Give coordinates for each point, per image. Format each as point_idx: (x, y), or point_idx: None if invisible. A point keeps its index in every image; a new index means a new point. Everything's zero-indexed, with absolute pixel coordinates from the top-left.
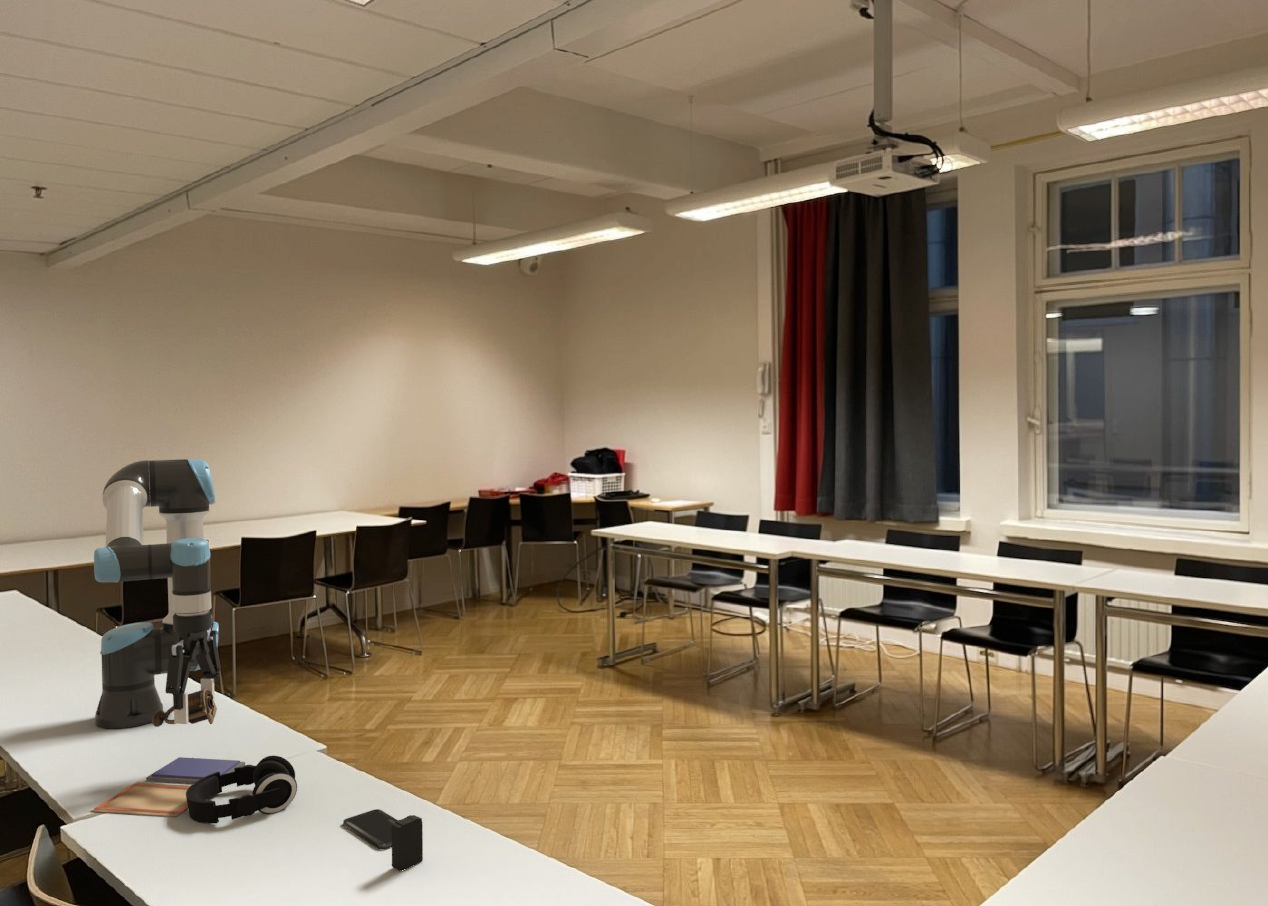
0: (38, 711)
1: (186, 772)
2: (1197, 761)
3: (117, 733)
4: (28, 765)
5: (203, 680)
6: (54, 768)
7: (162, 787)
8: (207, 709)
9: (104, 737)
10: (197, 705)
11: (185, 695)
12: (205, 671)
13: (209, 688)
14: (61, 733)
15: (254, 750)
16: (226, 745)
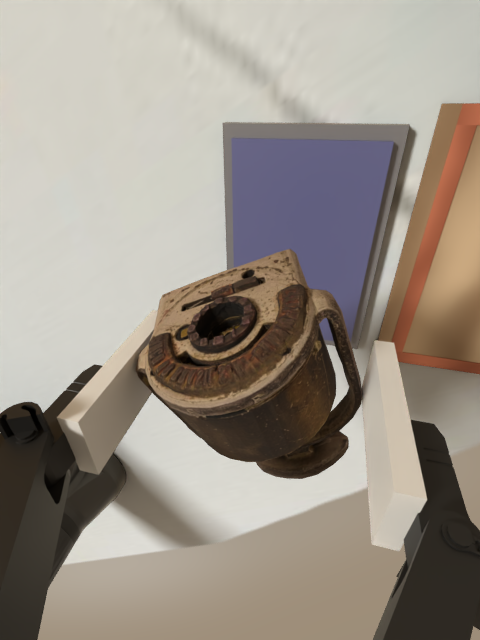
0: (108, 539)
1: (339, 263)
2: None
3: (135, 458)
4: (281, 518)
5: (98, 455)
6: (291, 492)
7: (420, 286)
8: (306, 300)
9: (155, 468)
10: (316, 365)
11: (423, 485)
12: (50, 504)
13: (117, 391)
14: (160, 511)
15: (117, 162)
16: (115, 260)
